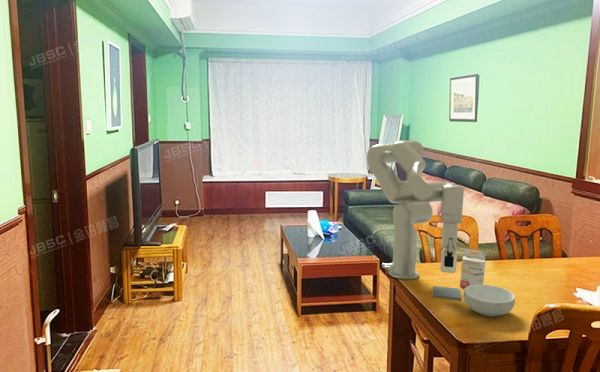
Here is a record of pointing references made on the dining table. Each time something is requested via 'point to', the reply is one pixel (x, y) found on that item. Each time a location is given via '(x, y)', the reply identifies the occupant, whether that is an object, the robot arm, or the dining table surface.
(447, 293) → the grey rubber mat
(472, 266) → the ink cartridge box
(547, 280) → the dining table surface
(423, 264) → the dining table surface
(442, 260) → the eye dropper bottle
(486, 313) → the cereal bowl
